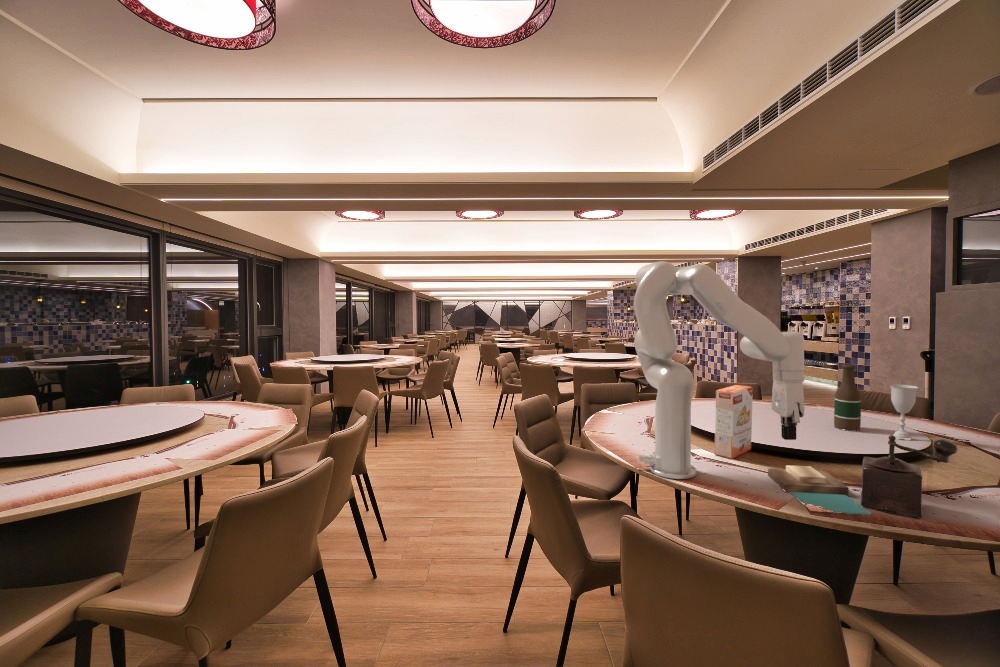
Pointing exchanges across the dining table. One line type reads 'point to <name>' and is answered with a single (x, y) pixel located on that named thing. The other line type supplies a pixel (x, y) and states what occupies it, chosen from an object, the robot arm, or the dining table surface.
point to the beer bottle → (847, 402)
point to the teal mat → (831, 502)
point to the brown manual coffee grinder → (898, 479)
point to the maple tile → (805, 474)
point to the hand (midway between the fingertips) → (788, 438)
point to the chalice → (903, 404)
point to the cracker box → (733, 421)
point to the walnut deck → (794, 485)
